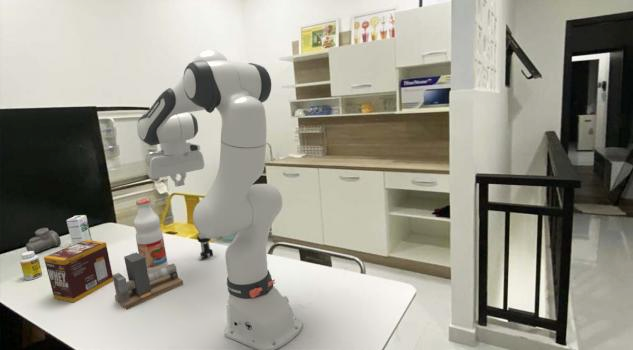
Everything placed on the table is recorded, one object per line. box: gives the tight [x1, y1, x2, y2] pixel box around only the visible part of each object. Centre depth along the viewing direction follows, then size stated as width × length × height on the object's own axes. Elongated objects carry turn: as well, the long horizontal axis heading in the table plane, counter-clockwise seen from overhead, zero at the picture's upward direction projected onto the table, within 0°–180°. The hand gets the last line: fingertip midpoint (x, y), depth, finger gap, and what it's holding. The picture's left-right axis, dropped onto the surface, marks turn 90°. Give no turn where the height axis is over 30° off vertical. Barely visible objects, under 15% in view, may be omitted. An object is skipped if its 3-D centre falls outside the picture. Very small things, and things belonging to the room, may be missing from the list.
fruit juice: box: [133, 198, 168, 273], centre depth 136 cm, size 9×9×28 cm
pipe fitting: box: [25, 227, 62, 255], centre depth 164 cm, size 12×8×10 cm
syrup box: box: [66, 214, 93, 245], centre depth 165 cm, size 6×6×14 cm
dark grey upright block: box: [123, 251, 151, 296], centre depth 117 cm, size 7×4×12 cm, turn 48°
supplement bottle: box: [19, 251, 43, 281], centre depth 136 cm, size 6×6×10 cm
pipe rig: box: [112, 263, 184, 311], centre depth 120 cm, size 10×19×10 cm, turn 138°
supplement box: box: [43, 240, 114, 303], centre depth 124 cm, size 10×15×16 cm
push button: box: [196, 233, 214, 261], centre depth 144 cm, size 7×5×10 cm
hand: (179, 185), depth 129 cm, fingers closed
